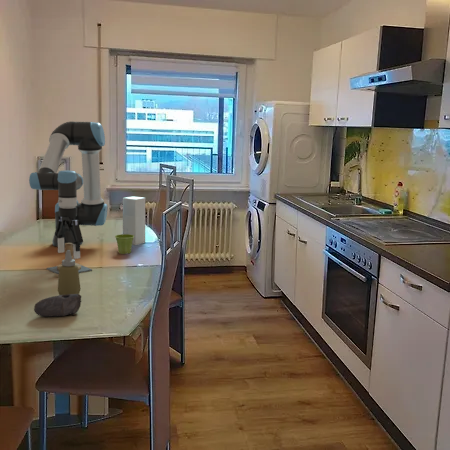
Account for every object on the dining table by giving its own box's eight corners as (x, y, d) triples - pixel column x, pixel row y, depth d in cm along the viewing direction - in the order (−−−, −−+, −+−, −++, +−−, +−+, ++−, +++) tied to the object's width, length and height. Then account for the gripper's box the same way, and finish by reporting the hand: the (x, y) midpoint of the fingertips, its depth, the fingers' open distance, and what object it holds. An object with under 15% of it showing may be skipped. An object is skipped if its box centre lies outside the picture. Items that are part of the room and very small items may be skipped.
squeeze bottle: (60, 295, 189) (59, 247, 186) (82, 295, 190) (82, 248, 186) (55, 302, 181) (53, 253, 178) (78, 302, 182) (77, 253, 178)
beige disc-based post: (52, 268, 223) (52, 243, 221) (73, 264, 230) (73, 240, 228) (64, 273, 216) (63, 247, 214) (85, 269, 223) (85, 244, 221)
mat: (46, 269, 223) (46, 267, 222) (75, 264, 232) (75, 262, 232) (62, 276, 213) (62, 274, 213) (91, 270, 223) (91, 269, 223)
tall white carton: (122, 243, 278) (122, 197, 274) (132, 240, 286) (132, 196, 281) (135, 245, 274) (135, 199, 270) (145, 242, 282) (145, 197, 277)
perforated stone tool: (33, 320, 164) (32, 299, 163) (34, 314, 169) (33, 294, 168) (82, 316, 168) (81, 296, 167) (81, 311, 173) (81, 291, 172)
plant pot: (130, 255, 252) (130, 238, 250) (112, 254, 253) (112, 237, 252) (137, 251, 261) (137, 234, 259) (119, 250, 262) (119, 233, 261)
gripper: (45, 204, 224) (47, 251, 227) (74, 211, 207) (75, 262, 210) (61, 202, 229) (62, 248, 233) (91, 210, 212) (91, 259, 216)
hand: (68, 255), depth 222 cm, fingers open, 13 cm apart
